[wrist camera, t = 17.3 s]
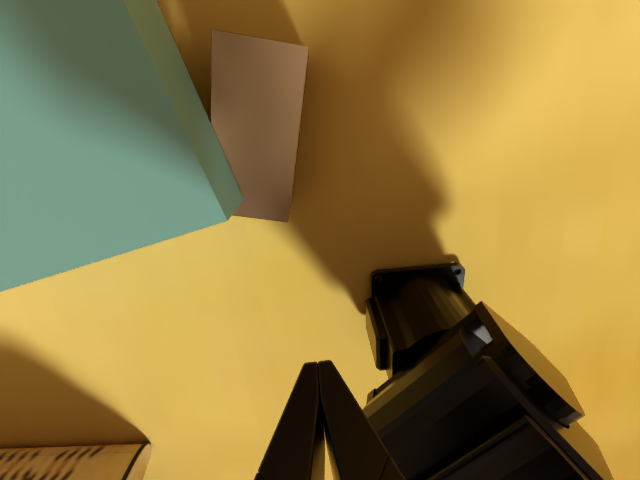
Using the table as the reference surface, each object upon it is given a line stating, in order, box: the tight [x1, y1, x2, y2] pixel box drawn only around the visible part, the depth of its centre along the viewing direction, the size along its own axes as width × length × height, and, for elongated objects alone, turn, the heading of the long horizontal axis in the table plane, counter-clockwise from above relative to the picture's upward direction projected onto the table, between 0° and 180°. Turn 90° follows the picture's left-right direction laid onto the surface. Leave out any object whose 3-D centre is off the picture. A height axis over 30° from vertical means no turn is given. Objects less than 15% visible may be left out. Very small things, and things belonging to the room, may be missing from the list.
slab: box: [0, 0, 243, 292], centre depth 14 cm, size 18×9×3 cm, turn 108°
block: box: [211, 30, 308, 222], centre depth 17 cm, size 4×8×4 cm, turn 171°
